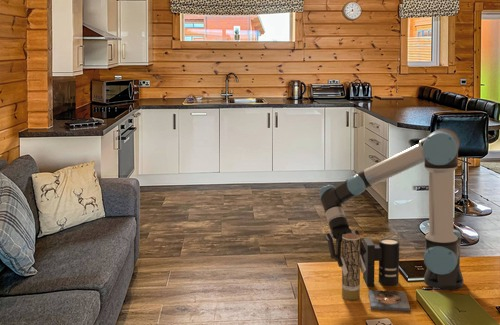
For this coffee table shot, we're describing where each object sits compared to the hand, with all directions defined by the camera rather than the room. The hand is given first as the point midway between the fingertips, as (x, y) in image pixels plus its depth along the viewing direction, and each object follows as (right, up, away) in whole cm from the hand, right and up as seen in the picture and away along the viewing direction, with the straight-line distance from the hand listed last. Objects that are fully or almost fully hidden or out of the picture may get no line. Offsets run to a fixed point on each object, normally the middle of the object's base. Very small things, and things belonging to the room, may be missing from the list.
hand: (355, 272), depth 187 cm
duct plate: (+13, -11, 0) cm, 17 cm away
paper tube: (0, -11, +5) cm, 12 cm away
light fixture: (+15, -8, +18) cm, 25 cm away
